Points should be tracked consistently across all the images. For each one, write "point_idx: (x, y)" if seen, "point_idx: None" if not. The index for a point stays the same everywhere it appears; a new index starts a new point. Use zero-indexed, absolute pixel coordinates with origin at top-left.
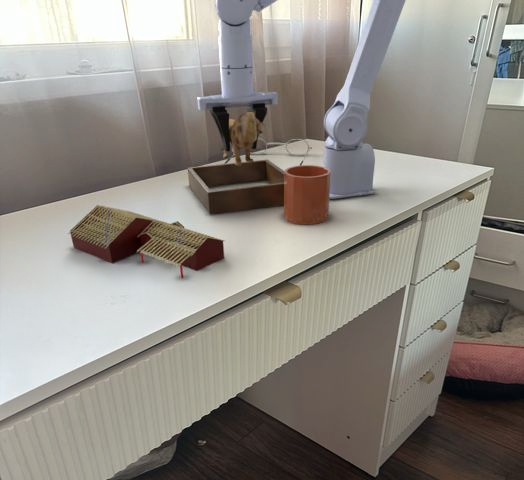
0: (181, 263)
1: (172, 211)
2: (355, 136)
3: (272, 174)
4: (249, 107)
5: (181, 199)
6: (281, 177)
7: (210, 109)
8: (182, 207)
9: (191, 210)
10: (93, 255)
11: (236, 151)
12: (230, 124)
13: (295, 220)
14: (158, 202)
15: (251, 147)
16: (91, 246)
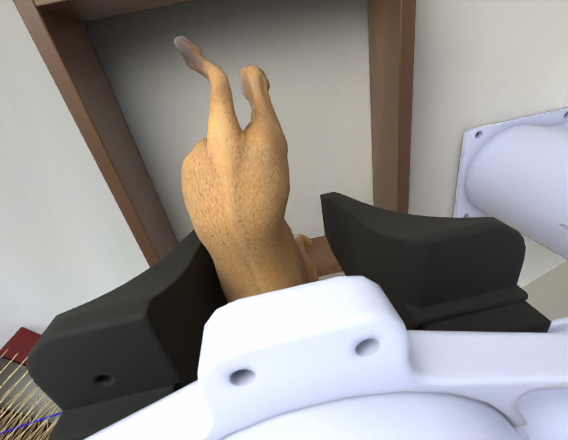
0: None
1: (83, 250)
2: None
3: (384, 56)
4: (409, 316)
5: (77, 158)
6: (390, 153)
7: (51, 395)
8: (102, 225)
9: (132, 248)
10: (17, 414)
11: None
12: (236, 278)
13: None
14: (8, 176)
15: (323, 217)
16: (6, 430)
